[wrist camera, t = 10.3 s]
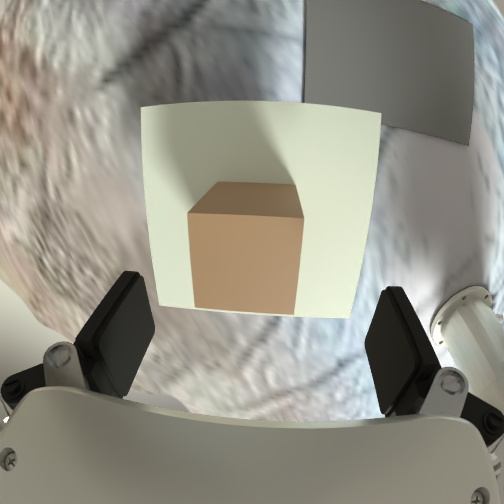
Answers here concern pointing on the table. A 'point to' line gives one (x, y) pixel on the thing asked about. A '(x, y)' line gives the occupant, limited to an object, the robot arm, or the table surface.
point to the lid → (259, 204)
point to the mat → (392, 63)
